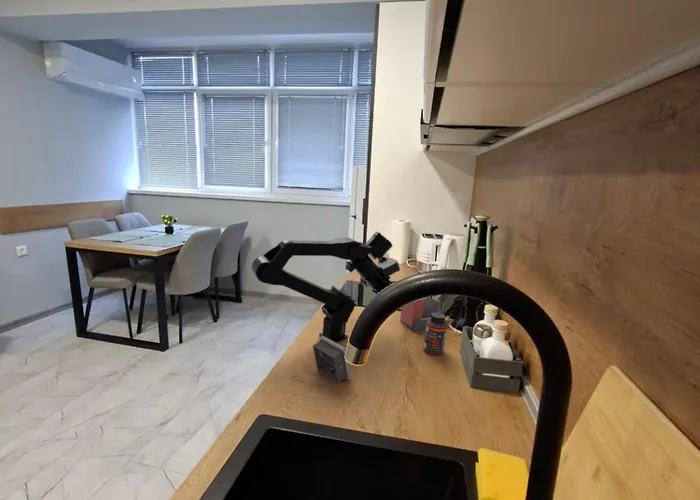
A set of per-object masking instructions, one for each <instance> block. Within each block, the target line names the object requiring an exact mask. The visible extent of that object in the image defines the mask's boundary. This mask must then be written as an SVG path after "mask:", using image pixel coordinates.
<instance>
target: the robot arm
mask: <svg viewBox="0 0 700 500" xmlns="http://www.w3.org/2000/svg"><path fill="white" fill-rule="evenodd" d="M392 248H393V243H392V242H391V241H390V240H389V239H387V238H386V237H385V236H384V235H383V234H382V233H381V232H379V231H375V232H374V233H373V235H372V236H371V237H370V238H369V239H368V240H367V241H366V242H365V243H363V242H362V241H356V240H355V239H353V238H350V237H339V238H334V239H332V240H296V239H295V240H293V239H288V238H287V239H283V240H281V242H279V243H277V245H275V246H274V247H272V248H271V249H269V250H268V251H266V252H265V253H264V254H263V255H261V256H258V257H256V258H255V259H254V260H253V261H252V264H251V270H252V272H253V274H254V276H255V277H256V279H258V281H259V282H260V283H263V284H267V285H271V286H272V285H273V286H283V287H285V288H287V289H289V290H292V291H295V292H297V293H300V294H302V295H303V296H306V297H308V298H311V299H313V300H315V301H317V302H320V303H321V304H323V305H322V306H321V312H322V314H323V315H325V317H324V318H323V325H322V326H323V327H322V332H320V333H319V334H318V336H319V337H321V336H324V337H326V338H328V339H330V340H332V341H333V342H335V343H337V342H340V341H342V340H345V339H348V338H349V336H348V335H347V334H346V327H347V323H348V321H349V320H350V317H351V315H352V313H353V312H354V310H355V301H354V300H353V299H352V296H351V295H350V294H349V293H347V292H346V291H345V290H344V289H340V288H338V287H336V286H334V285H332V286H331V288H330V289H328V288H325V287H322V286H320V285H319V284H316V283H313V282H311V281H308V280H306V279H305V278H302V277H301V276H298V275H296V274H293V273H291V272H289V271H287V270H286V269H284V267H285V266H286V265H287V264H288V262H289V260H290V259H292V257H294V256H299V257H306V256H307V257H309V256H315V257H316V256H317V257H318V256H319V257H321V256H322V257H326V256H327V257H335V258H338V259H342V260H346V263H345V264H346V265H345V270H347V271H348V272H350V273H352V272H353V271H354V270H355V271H356V273H358V275H359V277H360V279H359V282H360V284H361V285H362V286H364V287H365V288H368V287H369V288H371V289H372V290H371V291H372V293H374V294H376V295H378V294H377V293H378V292H380V291H381V290H382V289H384V288H385V287H387V286H389V285H390V284H392V283H394V282H396V280H390V279H391V276H392V275H393V274H395V273H397V272H400V270H401V269H400V265H399V262H398V260H396V259H394V258H392V257H385V255H386V253H388V252H389V251H390V249H392ZM377 259H378V261H377V262H378V263H377V264H378V265H377V264H376V263H375V262H374V261H373V260H377Z"/></svg>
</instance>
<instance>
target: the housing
mask: <svg viewBox="0 0 700 500" xmlns="http://www.w3.org/2000/svg"><path fill="white" fill-rule="evenodd" d="M441 304H442V300H440V299H438V298H436V297H434V296H432V298H427V299H424V306H423V314H422V318H420V319H415V325H414V327H411V326H409V325H408V324H406V323H405V322H403V321H402V320H401V316H402V309H401V310H400V311H401V312H400V317H399V319H400V322H401V323H402V324H403V325H405V326H406V327H408V328H409V329H411V330H412V331H414V332H415V333H422V332H426V324H427V321H428V320H430V319H431V314H432V313H440V312H441V311H440V310H441V306H442V305H441Z"/></svg>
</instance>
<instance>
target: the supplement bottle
mask: <svg viewBox="0 0 700 500" xmlns="http://www.w3.org/2000/svg"><path fill="white" fill-rule="evenodd" d="M447 331H448V324H447V322H446V315H445V314H444V313H440V312H439V313H432V314H431V319H430V320H428V321H427V324H426V331H424V339H423V346H422V347H423V350H424V351H425V352H426V353H427V354H429V353H430V355H433V354H440V355H442V354H443V353H444V351H445V345H446V337H447ZM441 353H442V354H441Z"/></svg>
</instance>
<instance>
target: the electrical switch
mask: <svg viewBox="0 0 700 500" xmlns="http://www.w3.org/2000/svg"><path fill="white" fill-rule="evenodd" d="M318 339H319V340H318V341H317V342H316V343H315V344H313V345H312V350H313V355H314V358H315V363H316V364H315V365H316V369H317V370H318V371H319V372H320V373H322V374H323V375H325V376H326V377H328V378H330V380H333V382H335V383H337V384H339V383H340V382H342V381H344V380H345V379H346V380H348V381H349V380H350V379H351V378H352V374H351V367H350V362H349V363H347V362H346V361H345V358H344V356H345V351H346V350H347V348H346V347H344V346H342V345H340V344H339V343H337V342H333V341H332V340H330V339H328V338H326V337H324V336H319V338H318ZM332 372H333V373H332Z"/></svg>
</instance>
